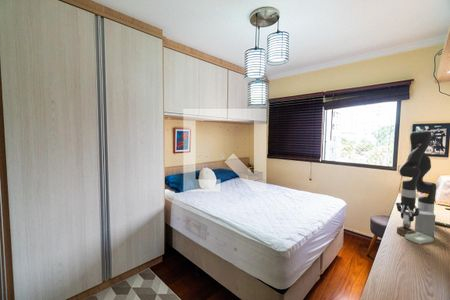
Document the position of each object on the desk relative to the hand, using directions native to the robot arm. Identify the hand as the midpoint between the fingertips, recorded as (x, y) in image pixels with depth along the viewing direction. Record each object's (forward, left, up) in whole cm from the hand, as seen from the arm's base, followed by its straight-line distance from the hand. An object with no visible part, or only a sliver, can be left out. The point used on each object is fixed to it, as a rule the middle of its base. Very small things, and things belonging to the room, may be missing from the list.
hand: (407, 219), depth 141 cm
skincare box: (-12, +4, -11) cm, 16 cm away
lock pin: (0, 0, -5) cm, 5 cm away
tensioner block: (0, 0, -10) cm, 10 cm away
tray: (+1, +8, -10) cm, 13 cm away
